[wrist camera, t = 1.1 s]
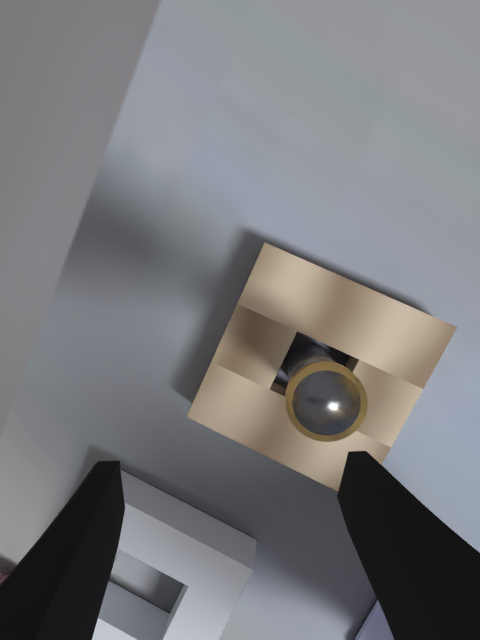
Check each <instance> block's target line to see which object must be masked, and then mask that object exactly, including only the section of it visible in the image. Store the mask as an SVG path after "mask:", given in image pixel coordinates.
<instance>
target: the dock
mask: <svg viewBox="0 0 480 640" xmlns="http://www.w3.org/2000/svg"><path fill="white" fill-rule="evenodd" d="M121 478H122V486H123V494H124V502H125V512H124V518H123V523H122V529H121V534H120V539H119V545H118V549H117V553H116V556H117V554H118V552H119V549H120V550H122V551H124V552H125V553H127V554H129V555H131V556H133V557H135V558H137V559H138V560H140V561H142V562H144V563H146V564H148V565H150V566H151V567H153V568H155V569H157V570H159V571H161V572H163V573H165V574H166V575H168V576H170V577H172V578H174V579H176V580H178V581H179V582H181V583H183V584H184V585H183V587H182V589H181V592H180V594H179V596H178V598H177V600H176V602H175V604H174V606H173V608H172V610H171V612H170V614H169V613H167V612H165V611H164V610H162V609H160V608H158V607H156V606H154V605H153V604H151V603H149V602H147V601H145V600H143V599H142V598H140V597H138V596H136V595H134V594H133V593H131V592H129V591H127V590H125V589H123V588H122V587H120V586H118V585H116V584H114V583H112V582H111V581H108V585H107V588H106V592H105V595H104V599H103V602H102V606H101V609H100V613H99V616H98V620H97V623H96V627H95V630H94V634H93V637H92V640H218V639H219V637H220V635H221V633H222V631H223V629H224V627H225V625H226V624H227V622H228V620H229V618H230V616H231V614H232V612H233V610H234V608H235V606H236V604H237V602H238V600H239V598H240V596H241V594H242V592H243V591H244V589H245V587H246V585H247V583H248V581H249V579H250V577H251V575H252V573H253V571H254V564H255V552H256V539H254V538H252V537H250V536H248V535H246V534H244V533H242V532H240V531H238V530H236V529H235V528H233V527H231V526H229V525H227V524H225V523H223V522H221V521H219V520H217V519H215V518H213V517H211V516H209V515H207V514H205V513H204V512H202V511H200V510H198V509H196V508H194V507H192V506H190V505H188V504H186V503H184V502H182V501H180V500H178V499H176V498H174V497H173V496H171V495H169V494H167V493H165V492H163V491H161V490H159V489H157V488H155V487H153V486H151V485H149V484H147V483H145V482H143V481H142V480H140V479H138V478H136V477H134V476H132V475H130V474H128V473H126V472H124V471H122V470H121ZM116 556H115V558H116ZM114 561H115V560H114Z"/></svg>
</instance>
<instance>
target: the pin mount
mask: <svg viewBox="0 0 480 640" xmlns="http://www.w3.org/2000/svg"><path fill="white" fill-rule="evenodd" d="M456 329H457V327H456V326H453V325H451V324H449V323H446V322H444V321H442V320H440V319H437V318H435V317H433V316H431V315H428V314H426V313H424V312H421V311H419V310H417V309H415V308H412V307H410V306H408V305H406V304H403V303H401V302H399V301H397V300H394V299H392V298H390V297H387V296H385V295H383V294H381V293H378V292H376V291H374V290H372V289H369V288H367V287H365V286H362V285H360V284H358V283H356V282H353V281H351V280H349V279H347V278H344V277H342V276H340V275H338V274H335V273H333V272H331V271H328V270H326V269H324V268H322V267H319V266H317V265H315V264H313V263H310V262H308V261H306V260H303V259H301V258H299V257H297V256H294V255H292V254H290V253H288V252H285V251H283V250H281V249H279V248H276V247H274V246H272V245H269V244H267V243H264V245H263V247H262V249H261V252H260V254H259V256H258V258H257V261H256V263H255V265H254V267H253V270H252V272H251V274H250V276H249V278H248V281H247V283H246V285H245V287H244V290H243V292H242V294H241V296H240V299H239V301H238V303H237V305H236V308H235V310H234V312H233V314H232V317H231V319H230V321H229V323H228V325H227V328H226V330H225V332H224V334H223V337H222V339H221V341H220V343H219V346H218V348H217V350H216V352H215V355H214V357H213V359H212V361H211V363H210V366H209V368H208V370H207V372H206V375H205V377H204V379H203V381H202V384H201V386H200V388H199V390H198V393H197V395H196V397H195V399H194V401H193V404H192V406H191V408H190V410H189V413H188V415H187V417H188V418H190V419H192V420H194V421H196V422H198V423H200V424H202V425H204V426H206V427H208V428H210V429H212V430H214V431H216V432H218V433H220V434H222V435H224V436H226V437H228V438H230V439H232V440H234V441H236V442H238V443H241V444H243V445H245V446H247V447H249V448H251V449H253V450H255V451H257V452H259V453H261V454H263V455H265V456H267V457H269V458H271V459H273V460H275V461H277V462H279V463H281V464H283V465H285V466H287V467H289V468H291V469H293V470H295V471H297V472H299V473H301V474H303V475H305V476H307V477H309V478H311V479H313V480H315V481H317V482H319V483H322V484H324V485H326V486H328V487H330V488H332V489H334V490H336V491H339V487H340V483H341V479H342V475H343V471H344V467H345V463H346V459H347V455H348V452H349V451H367V452H368V453H369V454H370V455H371V456H372V457H373V458H374V459H375V460H377V461H378V462H379V463H380V464H381V465H382V463H383V461H384V459H385V458H386V456H387V454H388V452H389V450H390V448H391V447H392V445H393V443H394V441H395V439H396V438H397V436H398V434H399V432H400V430H401V428H402V427H403V425H404V423H405V421H406V419H407V418H408V416H409V414H410V412H411V410H412V408H413V407H414V405H415V403H416V401H417V399H418V398H419V396H420V394H421V392H422V390H423V388H424V387H425V385H426V383H427V381H428V379H429V378H430V376H431V374H432V372H433V370H434V369H435V367H436V365H437V363H438V361H439V359H440V358H441V356H442V354H443V352H444V350H445V349H446V347H447V345H448V343H449V341H450V339H451V338H452V336H453V334H454V332H455V330H456ZM297 331H298V332H300V333H302V334H305V335H307V336H309V337H311V338H313V339H315V340H318V341H320V342H322V343H324V344H326V345H328V346H331V347H333V348H335V349H337V350H339V351H342V352H344V353H346V354H348V355H350V357H349V359H348V361H347V363H346V365H345V367H346V368H348V369H349V370H350V371H351V372H352V373H354V375H355V376H356V377H357V378H358V379H359V380H360V381H361V383H362V385H363V386H364V389H365V391H366V394H367V400H368V407H367V413H366V416H365V419H364V421H363V423H362V424H361V426H360V427H359V428H358V429H357V430H356V431H355V432H354V433H353V434H351V435H350V436H348V437H346V438H344V439H342V440H338V441H334V442H321V441H316V440H313V439H311V438H308V437H306V436H305V435H303V434H302V433H300V432H299V431H298V430H297V429H296V428H295V427H294V425H293V424H292V422H291V421H290V419H289V417H288V414H287V411H286V403H285V394H286V389H287V388H285V387H283V386H281V385H279V384H276V383H274V382H273V381H274V379H275V377H276V375H277V373H278V371H279V368H280V366H281V364H282V362H283V360H284V358H285V356H286V354H287V352H288V350H289V348H290V346H291V343H292V341H293V339H294V337H295V335H296V333H297Z"/></svg>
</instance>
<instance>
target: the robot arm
mask: <svg viewBox="0 0 480 640" xmlns="http://www.w3.org/2000/svg"><path fill="white" fill-rule="evenodd" d="M337 497H338V500H339V503H340V507H341V510H342V513H343V517H344V520H345V523H346V526H347V529H348V532H349V534H350V537H351V539H352V541H353V544H354V546H355V548H356V551H357V553H358V555H359V558H360V560H361V562H362V565H363V567H364V569H365V572H366V574H367V576H368V578H369V581H370V583H371V585H372V588H373V590H374V592H375V595H376V597H377V599H378V600H377V602H376V604H375V605H374V607H373V609H372V611H371V612H370V614H369V616H368V617H367V619H366V621H365V622H364V624H363V626H362V628H361V629H360V631H359V633H358V634H357V636H356V638H355V640H480V553H479V552H478V551H477V550H475V549H474V548H473V547H472V546H470V545H469V544H468V543H467V542H466V541H465V540H463V539H462V538H461V537H460V536H459V535H457V534H456V533H455V532H454V531H453V530H451V529H450V528H449V527H448V526H447V525H446V524H444V523H443V522H442V521H441V520H440V519H439V518H438V517H437V516H435V515H434V514H433V513H432V512H431V511H430V510H429V509H428V508H426V507H425V506H424V505H423V504H422V503H421V502H420V501H419V500H418V499H417V498H416V497H415V496H413V495H412V494H411V493H410V492H409V491H408V490H407V489H406V488H405V487H404V486H403V485H402V484H401V483H400V482H399V481H398V480H396V479H395V478H394V477H393V476H392V475H391V474H390V473H389V472H388V471H387V470H386V469H385V468H384V467H383V466H382V465H381V464H380V463H379V462H378V461H377V460H375V459H374V458H373V457H372V456H371V455H370V454H369V453H368V452H367V451H349V452H348V455H347V459H346V463H345V467H344V471H343V475H342V479H341V483H340V487H339V491H338V495H337ZM124 512H125V502H124V494H123V486H122V478H121V469H120V461H98V462H97V463H96V464H95V465H94V466H93V468H92V469H91V471H90V472H89V473H88V475H87V476H86V478H85V479H84V481H83V482H82V483H81V485H80V486H79V488H78V489H77V490H76V492H75V493H74V494H73V496H72V497H71V498H70V500H69V501H68V502H67V504H66V505H65V506H64V508H63V509H62V510H61V512H60V513H59V514H58V516H57V517H56V518H55V519H54V521H53V522H52V523H51V524H50V526H49V527H48V528H47V530H46V531H45V532H44V533H43V535H42V536H41V537H40V538H39V540H38V541H37V542H36V543H35V545H34V546H33V547H32V548H31V549H30V550H29V552H28V553H27V554H26V555H25V556H24V558H23V559H22V560H21V561H20V562H19V563H18V565H17V566H16V567H15V568H14V569H13V571H12V572H11V573H10V574H9V575H8V576H7V578H6V579H5V580H4V581H3V582H2V583H1V584H0V640H92V637H93V634H94V630H95V627H96V623H97V620H98V616H99V613H100V609H101V606H102V602H103V599H104V595H105V592H106V588H107V585H108V581H109V578H110V574H111V571H112V567H113V563H114V560H115V556H116V553H117V549H118V545H119V539H120V534H121V529H122V523H123V518H124Z"/></svg>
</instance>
